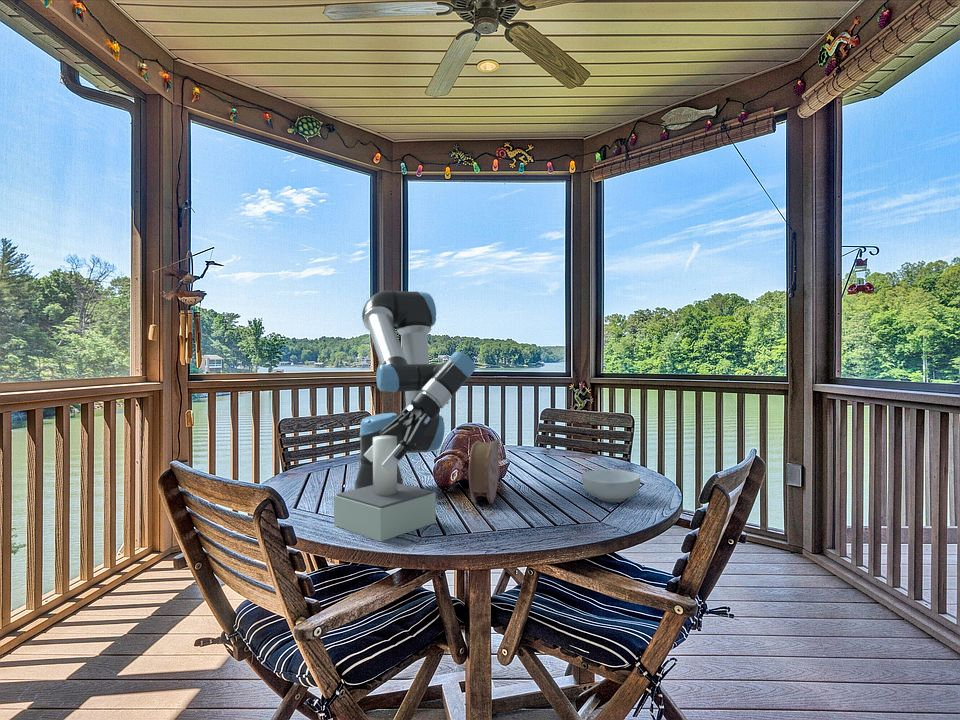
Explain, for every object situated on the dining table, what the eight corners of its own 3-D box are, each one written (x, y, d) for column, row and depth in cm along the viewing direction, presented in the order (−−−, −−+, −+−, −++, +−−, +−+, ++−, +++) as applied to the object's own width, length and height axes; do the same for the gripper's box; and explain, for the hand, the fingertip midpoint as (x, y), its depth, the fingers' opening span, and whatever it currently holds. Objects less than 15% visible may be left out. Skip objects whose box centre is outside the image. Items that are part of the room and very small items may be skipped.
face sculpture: (492, 508, 153) (492, 448, 153) (468, 507, 154) (467, 447, 154) (500, 489, 173) (500, 436, 172) (479, 488, 174) (479, 436, 174)
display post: (368, 492, 139) (367, 437, 138) (386, 488, 143) (386, 434, 143) (383, 497, 135) (383, 440, 135) (402, 492, 140) (401, 437, 139)
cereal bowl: (593, 488, 174) (593, 466, 174) (646, 496, 165) (646, 472, 165) (573, 501, 159) (573, 477, 159) (630, 510, 151) (631, 484, 151)
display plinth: (334, 525, 138) (333, 493, 138) (389, 509, 152) (389, 480, 152) (380, 541, 127) (380, 507, 126) (435, 522, 140) (435, 491, 140)
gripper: (461, 414, 136) (405, 483, 128) (420, 405, 157) (370, 463, 150) (442, 394, 133) (383, 462, 126) (403, 387, 154) (351, 446, 147)
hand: (376, 463), depth 138 cm, fingers open, 13 cm apart
